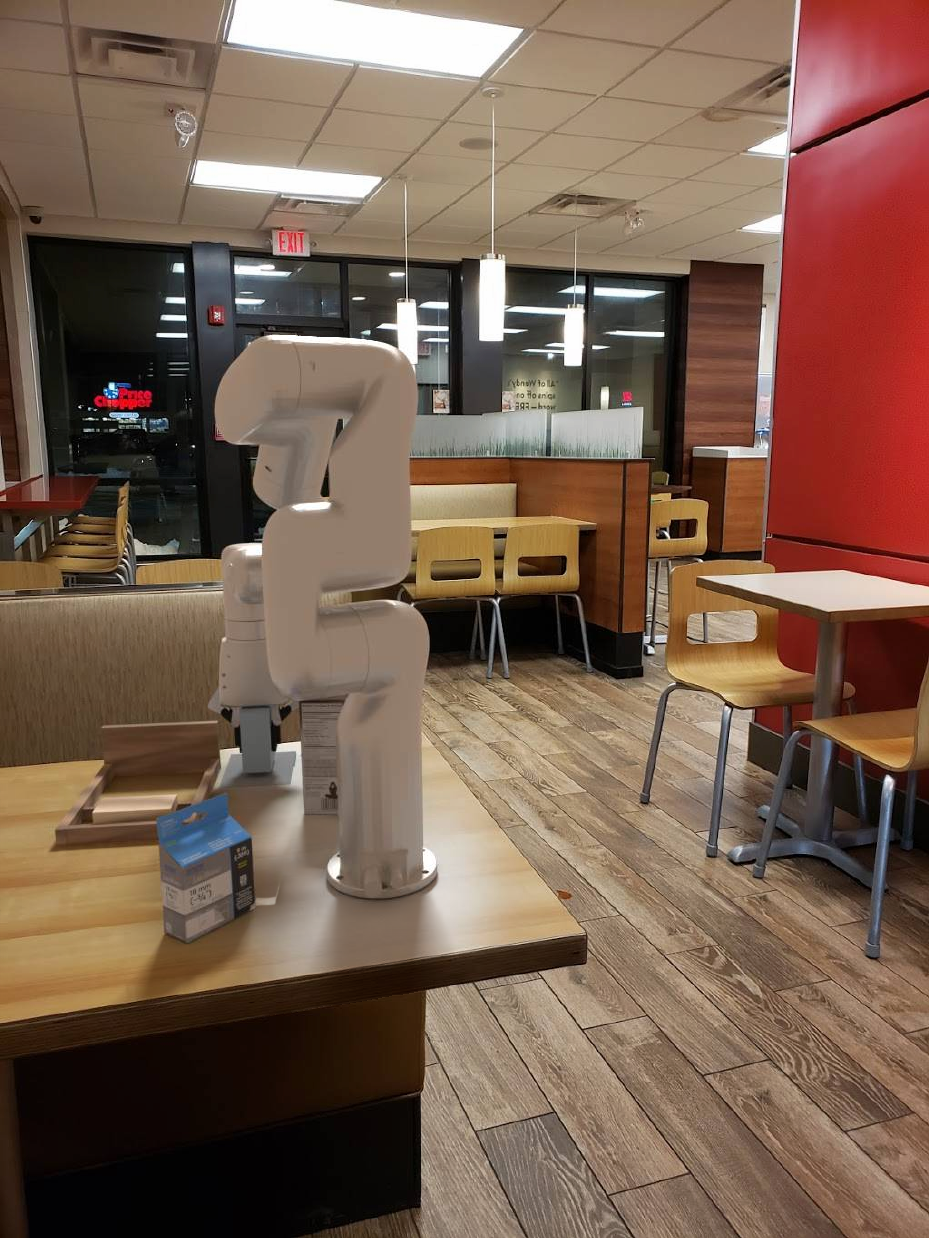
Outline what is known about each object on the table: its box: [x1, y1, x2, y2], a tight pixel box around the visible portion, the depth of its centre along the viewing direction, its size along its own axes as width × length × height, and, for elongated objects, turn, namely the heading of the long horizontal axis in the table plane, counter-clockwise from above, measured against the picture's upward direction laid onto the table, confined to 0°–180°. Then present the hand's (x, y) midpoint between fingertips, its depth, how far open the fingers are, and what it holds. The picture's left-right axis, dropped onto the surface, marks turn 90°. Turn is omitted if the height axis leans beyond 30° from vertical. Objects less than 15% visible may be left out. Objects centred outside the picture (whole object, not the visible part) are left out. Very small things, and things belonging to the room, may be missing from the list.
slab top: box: [92, 794, 179, 824], centre depth 116 cm, size 5×9×2 cm, turn 98°
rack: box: [54, 720, 222, 846], centre depth 123 cm, size 24×16×8 cm
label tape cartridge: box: [156, 792, 256, 944], centre depth 93 cm, size 9×4×12 cm, turn 143°
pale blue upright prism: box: [240, 706, 275, 773], centre depth 135 cm, size 8×4×9 cm, turn 7°
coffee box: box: [298, 693, 350, 815], centre depth 123 cm, size 9×6×16 cm
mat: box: [218, 750, 297, 789], centre depth 136 cm, size 14×10×1 cm
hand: (258, 748), depth 135 cm, fingers closed on pale blue upright prism, 3 cm apart
